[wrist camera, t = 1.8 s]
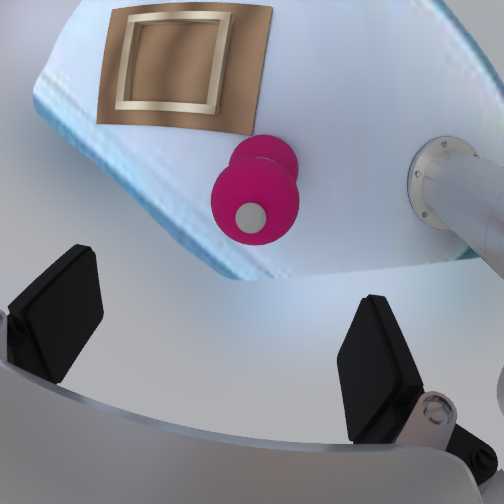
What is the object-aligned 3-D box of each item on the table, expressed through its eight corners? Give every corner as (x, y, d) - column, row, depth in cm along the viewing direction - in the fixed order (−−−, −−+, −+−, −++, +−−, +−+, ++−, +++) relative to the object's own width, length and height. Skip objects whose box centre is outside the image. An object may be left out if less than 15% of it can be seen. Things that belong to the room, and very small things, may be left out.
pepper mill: (292, 194, 36) (305, 285, 18) (233, 189, 36) (187, 273, 19) (298, 135, 33) (323, 165, 15) (236, 130, 33) (185, 155, 15)
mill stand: (272, 9, 26) (271, 0, 23) (252, 134, 33) (249, 137, 30) (116, 11, 26) (103, 5, 23) (101, 123, 33) (87, 125, 30)
